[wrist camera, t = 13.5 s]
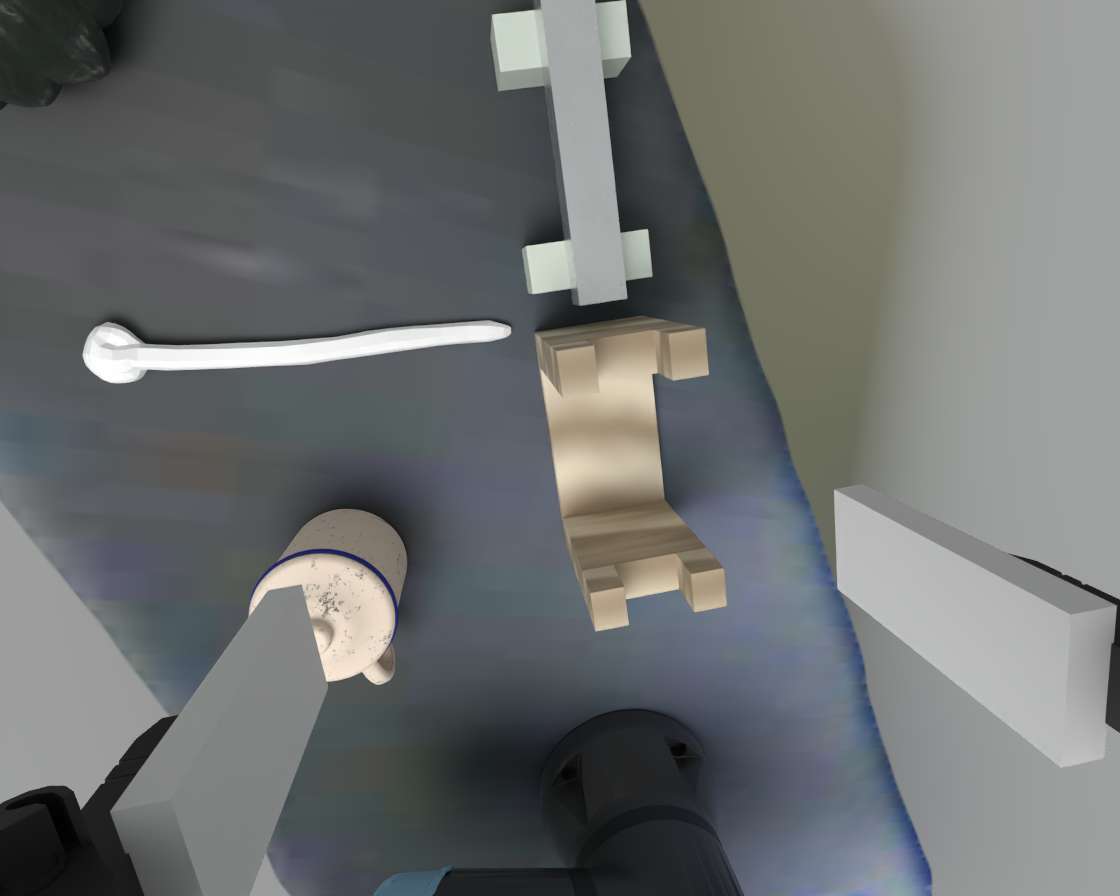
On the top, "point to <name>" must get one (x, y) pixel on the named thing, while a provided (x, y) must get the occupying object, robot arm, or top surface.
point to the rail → (581, 148)
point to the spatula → (267, 348)
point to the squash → (52, 47)
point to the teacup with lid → (346, 589)
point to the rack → (621, 462)
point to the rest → (523, 70)
